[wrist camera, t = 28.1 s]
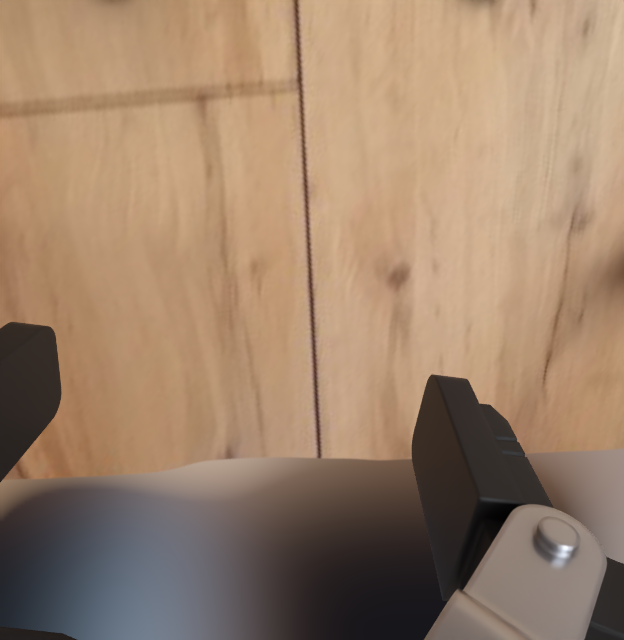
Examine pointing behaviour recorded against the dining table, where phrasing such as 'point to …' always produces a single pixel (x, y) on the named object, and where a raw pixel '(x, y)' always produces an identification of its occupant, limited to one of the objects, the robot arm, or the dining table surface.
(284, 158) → the dining table surface
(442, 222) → the dining table surface
